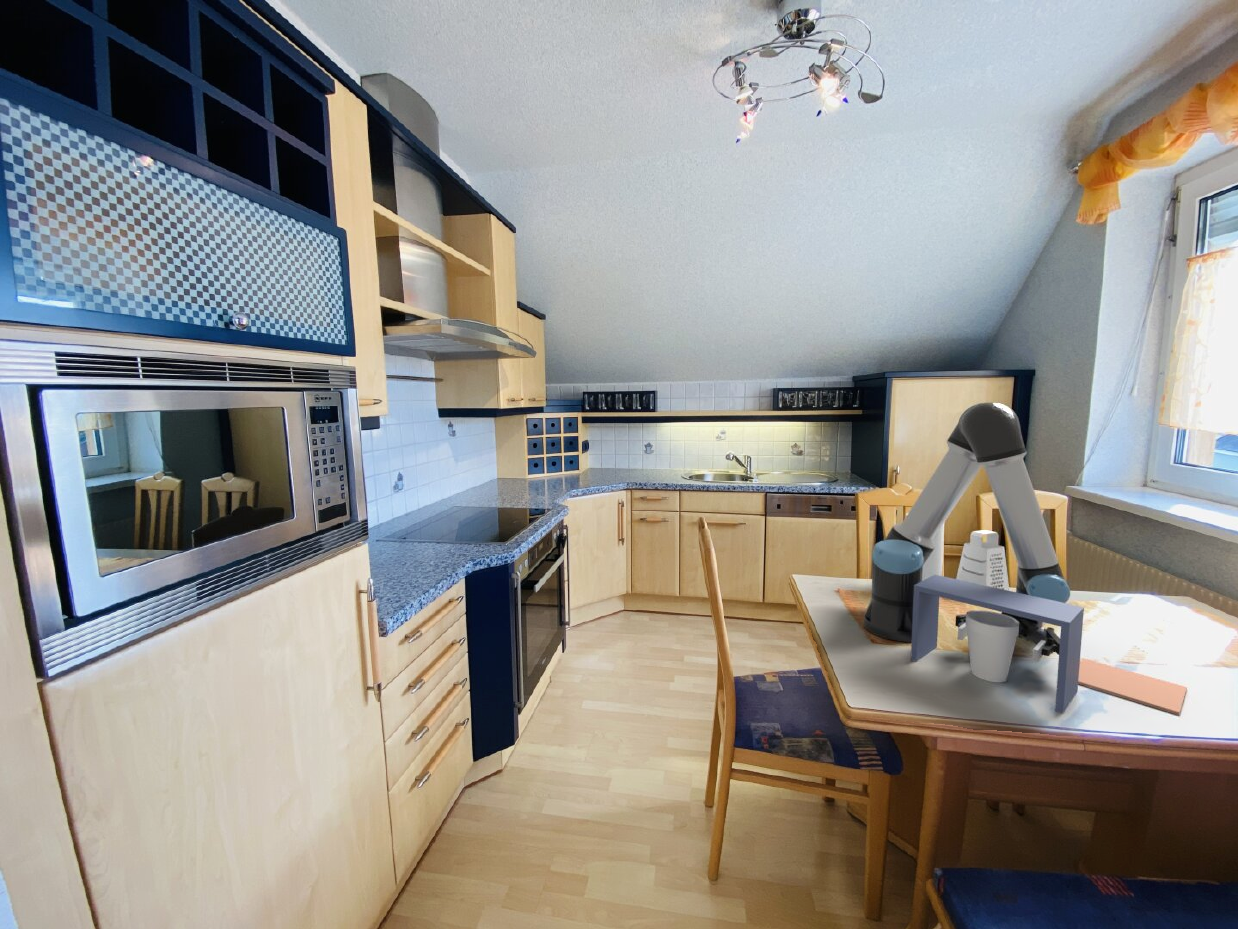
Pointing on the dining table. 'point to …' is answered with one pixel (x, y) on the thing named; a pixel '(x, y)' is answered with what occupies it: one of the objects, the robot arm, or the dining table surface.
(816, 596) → the dining table surface
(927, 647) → the rectangular arch
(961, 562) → the grater
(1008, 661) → the foam cup
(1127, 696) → the mat
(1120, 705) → the dining table surface
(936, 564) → the tall pillar cylinder
